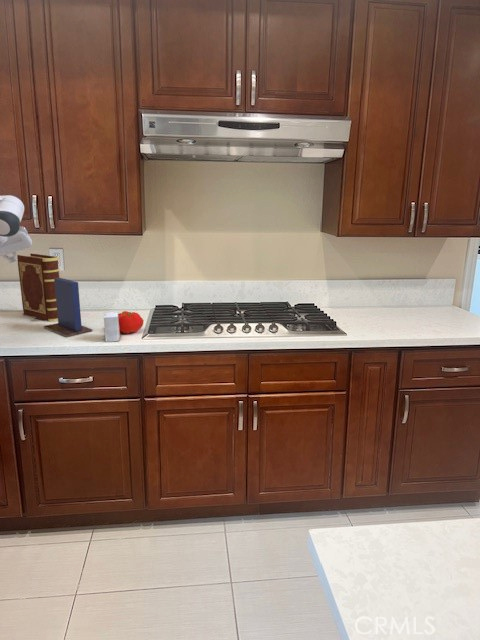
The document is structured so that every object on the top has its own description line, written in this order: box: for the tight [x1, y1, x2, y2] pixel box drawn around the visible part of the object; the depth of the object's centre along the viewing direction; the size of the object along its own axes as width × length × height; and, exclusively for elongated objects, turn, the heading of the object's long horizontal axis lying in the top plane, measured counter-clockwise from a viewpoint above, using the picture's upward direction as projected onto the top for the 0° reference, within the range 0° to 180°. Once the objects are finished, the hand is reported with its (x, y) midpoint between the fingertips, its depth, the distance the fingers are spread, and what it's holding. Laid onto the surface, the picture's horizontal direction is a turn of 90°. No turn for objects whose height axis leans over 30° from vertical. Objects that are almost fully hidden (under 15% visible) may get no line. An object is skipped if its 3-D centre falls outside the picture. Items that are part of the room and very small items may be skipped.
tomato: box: [118, 310, 144, 334], centre depth 204 cm, size 13×12×8 cm
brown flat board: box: [43, 322, 93, 338], centre depth 206 cm, size 12×20×1 cm, turn 48°
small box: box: [103, 312, 121, 343], centre depth 193 cm, size 8×6×10 cm
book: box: [54, 277, 83, 331], centre depth 204 cm, size 3×15×21 cm, turn 48°
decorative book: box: [16, 253, 61, 323], centre depth 223 cm, size 22×8×30 cm, turn 58°
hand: (13, 261), depth 190 cm, fingers closed
